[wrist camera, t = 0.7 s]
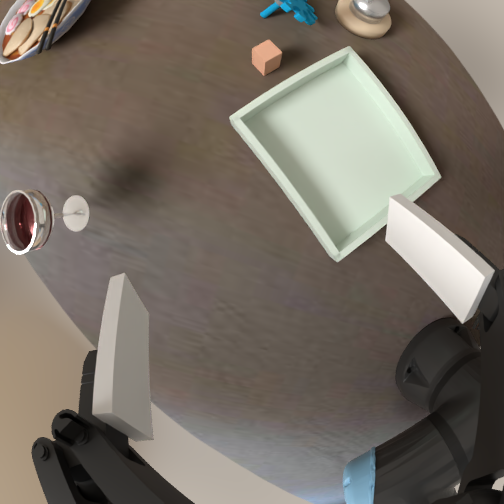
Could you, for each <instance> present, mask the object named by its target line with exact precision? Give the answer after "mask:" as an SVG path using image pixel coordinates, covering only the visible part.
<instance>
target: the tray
mask: <svg viewBox="0 0 504 504" xmlns="http://www.w3.org/2000/svg"><path fill="white" fill-rule="evenodd" d="M229 118H230V121H231V125H232V126H233V127H234V129H235V130H236V131H237V132H238V133H239V135H240V136H241V137H242V138H243V140H244V141H245V142H246V143H247V145H248V146H249V147H250V148H251V150H252V151H253V152H254V153H255V155H256V156H257V157H258V159H259V160H260V161H261V162H262V164H263V165H264V166H265V168H266V169H267V170H268V172H269V173H270V174H271V175H272V177H273V178H274V179H275V181H276V182H277V183H278V185H279V186H280V187H281V189H282V190H283V191H284V193H285V194H286V195H287V197H288V198H289V199H290V201H291V202H292V204H293V205H294V206H295V208H296V209H297V210H298V212H299V213H300V215H301V216H302V217H303V219H304V220H305V222H306V223H307V224H308V226H309V227H310V229H311V230H312V231H313V233H314V234H315V236H316V237H317V239H318V240H319V241H320V243H321V244H322V246H323V247H324V249H325V250H326V252H327V253H328V255H329V256H330V257H331V258H333V259H334V260H335V261H336V262H339V261H340V260H341V259H343V258H344V257H345V256H347V255H348V254H349V253H350V252H352V251H353V250H354V249H356V248H357V247H358V246H359V245H361V244H362V243H363V242H365V241H366V240H367V239H368V238H370V237H371V236H372V235H373V234H375V233H376V232H377V231H378V230H380V229H381V228H382V227H383V226H385V225H386V224H387V221H388V210H389V198H390V196H394V195H397V194H402V195H403V196H405V197H406V198H407V199H409V200H410V201H412V202H414V201H415V200H416V199H417V198H418V197H419V196H421V195H422V194H423V193H424V192H425V191H426V190H427V189H429V188H430V187H431V186H432V185H433V184H434V183H435V182H437V181H438V180H439V179H440V178H441V175H440V173H439V172H438V170H437V168H436V166H435V164H434V162H433V160H432V159H431V157H430V155H429V153H428V152H427V150H426V148H425V147H424V145H423V143H422V142H421V140H420V138H419V137H418V135H417V133H416V132H415V130H414V129H413V127H412V126H411V124H410V122H409V121H408V119H407V118H406V116H405V115H404V114H403V112H402V111H401V109H400V108H399V106H398V105H397V104H396V102H395V101H394V99H393V98H392V97H391V95H390V94H389V93H388V91H387V90H386V89H385V87H384V86H383V85H382V83H381V82H380V81H379V80H378V78H377V77H376V76H375V75H374V74H373V72H372V71H371V70H370V69H369V67H368V66H367V65H366V64H365V63H364V62H363V60H362V59H361V58H360V57H359V56H358V55H357V54H356V53H355V51H354V50H353V49H352V48H351V47H350V46H348V47H346V48H344V49H342V50H340V51H338V52H336V53H334V54H332V55H330V56H328V57H326V58H324V59H322V60H320V61H319V62H317V63H315V64H313V65H311V66H309V67H308V68H306V69H304V70H302V71H300V72H299V73H297V74H295V75H294V76H292V77H290V78H288V79H287V80H285V81H283V82H282V83H280V84H278V85H277V86H275V87H274V88H272V89H270V90H269V91H267V92H266V93H264V94H263V95H261V96H259V97H258V98H256V99H255V100H253V101H252V102H250V103H249V104H247V105H246V106H244V107H243V108H241V109H240V110H239V111H237V112H236V113H234V114H233V115H231V116H230V117H229Z"/></svg>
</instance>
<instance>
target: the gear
mask: <svg viewBox="0 0 504 504" xmlns="http://www.w3.org/2000/svg"><path fill="white" fill-rule="evenodd" d="M306 2H307V0H275V3H273V4H272V5H271V6H269V7H268V8H267V9H265V10H264V11H263V12H261V13H260V15H261V16H262V17H263V18H266V17H268V16H269V15H270V14H272V13H273V12H274V11H276V10H277V9H279V8H280V7H281V8H282V9H283V10H284V11H285V12H287V13H288V12H289V11H291V10H293V11H294V12H295V13H296V14H295V15H294V17H295V18H296V19H297V20H298V21H300V22H303V21H305V23H306V24H308V25H312V24H314V23H315V20H317V19H318V18H317V16H316V15H315V14H313V12H315V11H314V8H313V7H311V6H310V5H308V4H307V3H306Z"/></svg>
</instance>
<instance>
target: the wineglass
mask: <svg viewBox="0 0 504 504" xmlns="http://www.w3.org/2000/svg"><path fill="white" fill-rule="evenodd" d="M62 217H63V219H64V222H65V224H66V226H67V227H68V228H69V229H70V230H72V231H80V230H82V229H83V228H84V227H85V226H86V225H87V223H88V220H89V207H88V204H87V202H86V200H85V199H84V198H82V197H81V196H78V195H75V196H72V197H70V198H69V199H68V200H67V201H66V203H65V205H64V208H63V213H55V214H54V212H53V209H52V205H51V203H50V201H49V199H48V198H47V197H46V196H45V195H44V194H43V193H41V192H39V191H37V190H33V189H28V190H24V191H20V190H16V191H12V192H11V193H10V194H9V195H8V196H7V197H6V199H5V201H4V203H3V206H2V209H1V216H0V226H1V232H2V236H3V239H4V241H5V243H6V245H7V246H8V248H9V249H10V250H11V251H13V252H15V253H16V254H23V253H25V252H26V251H35V250H37V249H39V248H41V247H42V246H44V244H45V243H46V242H47V241H48V239H49V238H50V236H51V234H52V231H53V226H54V219H57V218H62Z"/></svg>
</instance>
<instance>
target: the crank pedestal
mask: <svg viewBox="0 0 504 504" xmlns="http://www.w3.org/2000/svg"><path fill="white" fill-rule="evenodd" d="M350 2H351V0H339V2H338V4H337V6H336V8H335V15H336V18H337V20H338V21H339V23H340V24H341V25H342V26H343V27H344V28H345V29H346V30H348V31H349V32H351V33H353V34H354V35H357V36H359V37H362V38H366V39H378V38H380V37H382V36H383V35H384V34H385V33H386V32H387V31H388V30H389V28H390V27H391V18H390V15H389V13H387V15H386V16H385V17H384V18H383V20H382V21H381V22H380V23H378V24H369V23H366V22H363V21H361V20H359V19H358V18H357V17H355V16H354V15H353V14H352V12H351V11H350V8H349V4H350Z"/></svg>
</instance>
